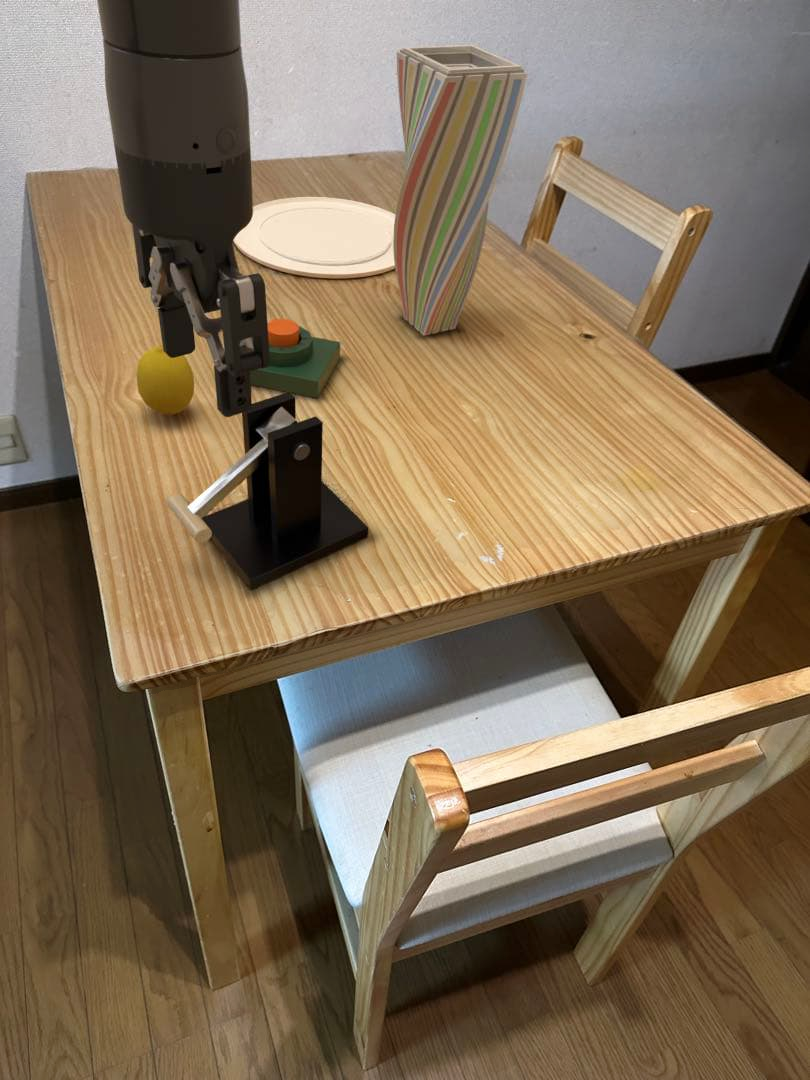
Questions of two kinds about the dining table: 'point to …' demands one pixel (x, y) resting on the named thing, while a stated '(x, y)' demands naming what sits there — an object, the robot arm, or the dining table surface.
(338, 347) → the button box
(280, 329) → the button
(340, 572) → the dining table surface
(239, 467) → the lever
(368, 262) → the plate
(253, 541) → the bracket
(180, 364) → the lemon
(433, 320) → the vase
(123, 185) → the robot arm
